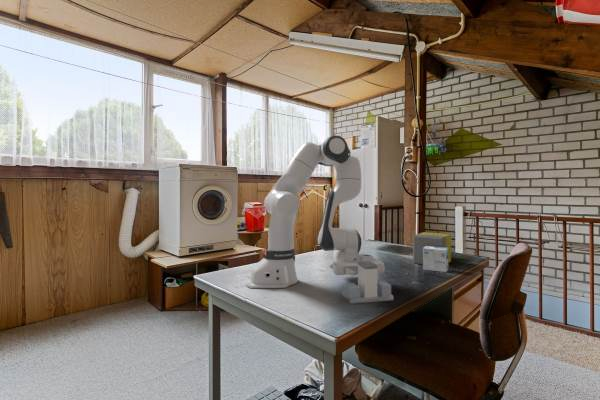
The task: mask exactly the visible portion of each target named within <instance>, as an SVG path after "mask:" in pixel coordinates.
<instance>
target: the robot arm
mask: <svg viewBox="0 0 600 400" xmlns="http://www.w3.org/2000/svg"><path fill="white" fill-rule="evenodd" d="M318 165H321V166H324V167H332V166H333V167H334V168H335V171H336V177H335V179H336V180H335V185H334V188H333V190H331V191H329V193H328V195H327V198H326V202H325V206H324V211H323V214H322V219H321V220H322V221H321V225H320V229H319V230H318V231H319V232H318V236H317V244H318V247H320V249H322V250H323V251H324V252H331V251H333V254H332V259H333V261H332V263H331V264H329V268H330V269H332V272H333V274H334V275H335V276H345V275H346V276H347V275H350V276H356V275H357V276H358V262H365V261H370V262H372V263H373V264H375V265H377V266H378V269H377V275H379V274H380V273H384V272H385V263H384V262H383V261H382V260H380V259H378V258H376V257H374V256H373V255H372V254H362V253H360V252H361V249H362V248H361V247H362V237H361V235H360V233H359V232H358V230H357V229H355V228H352V227H350V228H348V227H347V228H346V227H343V228H342V227H333V222H334V217H335V212H336V208H337V207H338V206H339V205H341V204H343V203H346V202H349V201H352V200H354V199H355V198H357V197H358V196H359V194H360V193H361V189H362V168H361V162H360V160H359V159H358V157H356V156H354V155H351V150H350V148H349V146H348V142H346V140H345V138H344V137H343V136H340V135H335V134H334V135H331V136H329V137H327V138H326V139H324V141H323V142H322V143H321V144H319V145H318V144H316V143H314V142H311V141H306V142H304V143H303V144H301V145H300V146H299V148H298V149H297V150H296V152H295V153H294V154H293V156H292V158H291V159H290V161H289V163H288V165H287V166H286V168H285V170H284V171H283V173H282V175H281V176H280V178H279V179H278V180H277V182H276V183H275V184H274V185H273V186H272V188H271V189H270V191H269V192H268V194H267V195H266V196H265V198H264V200H263V205H264V208H265V211H266V212H267V213H268V214H270V221H269V222H270V223H269V227H268V229H267V230H268V231H267V242H268V243H267V245H268V247H267V248H262V250H261V253H262V254H263V258H262V259H261V260H259V261H258V262H257V263H256V264H254V265H253V266H252V268H251V271H250V275H249V276H248V277H247V278H246V279H245V281H244V282H245V286H246V287H247V288H250V289H271V288H272V289H273V288H274V289H277V288H278V289H280V288H281V289H282V288H283V289H285V288H288V287H289V286H292V285H294V284H297V283H298V282H299V280H298V276H297V272H296V271H297V270H296V265H295V262H296V249H295V239H294V238H295V237H294V236H295V234H294V233H295V227H296V226H295V225H296V219H297V213H298V212H299V210H300V200H299V199H298V197H297V196H298V195H299V194H300V192H301V191H302V190H304V189H305V187H306V185H307V184H308V182H309V180H310V178H311V177H312V175H313V173H314V171H315V169H316V168H317V166H318Z"/></svg>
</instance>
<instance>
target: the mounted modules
mask: <svg viewBox="0 0 600 400" xmlns="http://www.w3.org/2000/svg"><path fill="white" fill-rule="evenodd" d="M344 291H345V293H346V294H347V295H348V296H349V297H350V298H359V297H360V287H358V284H356V283H355V282H345V283H344ZM377 292H378V293H379V294H381V295H382V296H383V295H392V284H390V283H388V282H387V281H385V280H377Z"/></svg>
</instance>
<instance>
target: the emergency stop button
mask: <svg viewBox="0 0 600 400" xmlns="http://www.w3.org/2000/svg"><path fill="white" fill-rule="evenodd" d="M425 246H430V247H443V248H448V264H449V263H451V262H452V235H451V234H449V233H437V232H425V231H424V232H420V233H417V234H414V235H413V237H412V263H414V264H415V265H421V266H423V248H424V247H425Z"/></svg>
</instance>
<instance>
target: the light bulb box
mask: <svg viewBox="0 0 600 400" xmlns="http://www.w3.org/2000/svg"><path fill="white" fill-rule="evenodd" d="M422 269H423V271H424V270H425V271H426V270H427V271H433V272H434V271H435V272H440V273H447V272H448V270H449V263H448V248H443V247H430V246H425V247H424V248H423V265H422Z"/></svg>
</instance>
